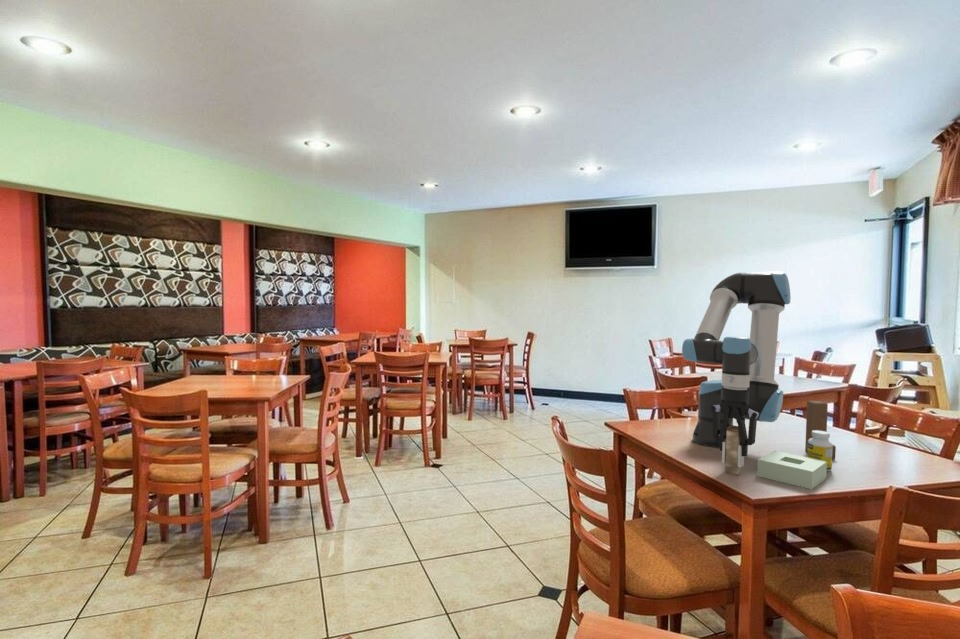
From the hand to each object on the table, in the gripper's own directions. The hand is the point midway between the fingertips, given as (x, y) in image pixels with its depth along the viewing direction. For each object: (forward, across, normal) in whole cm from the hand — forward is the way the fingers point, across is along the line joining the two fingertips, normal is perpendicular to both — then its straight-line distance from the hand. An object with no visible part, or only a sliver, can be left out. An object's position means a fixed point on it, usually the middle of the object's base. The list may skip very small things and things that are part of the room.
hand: (732, 464), depth 151 cm
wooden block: (+3, +12, +43) cm, 45 cm away
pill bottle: (+3, +16, +26) cm, 31 cm away
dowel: (+3, 0, 0) cm, 3 cm away
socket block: (+3, +13, +10) cm, 17 cm away
